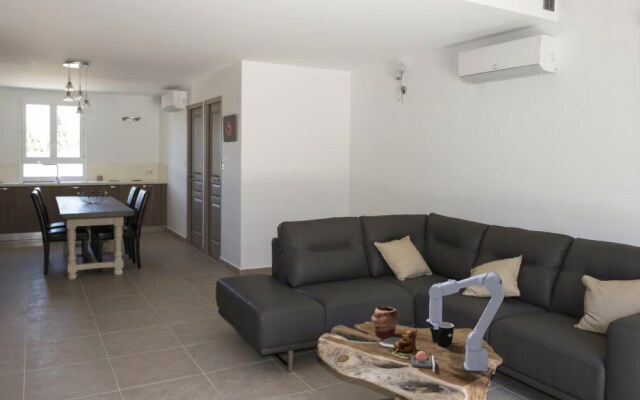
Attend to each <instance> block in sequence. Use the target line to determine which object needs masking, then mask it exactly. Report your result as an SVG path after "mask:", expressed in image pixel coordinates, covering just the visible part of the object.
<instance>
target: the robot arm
mask: <svg viewBox="0 0 640 400" xmlns="http://www.w3.org/2000/svg"><path fill="white" fill-rule="evenodd" d="M473 286H479V287H481V288H483V287H484V288H485V289H486V290H487V291H488V292H489V294H490V297H491V298H490V300H489V302H488V303H487V305H486V307H485V309H484V311H483V313H482V315H481V316H480V318H479V320H478V322H477V324H476V325H475V327H474V328H473V330H471V331H470V332H469V333H468V336H467V339H466V340H465V341H466V342H465V359H464V362H463V367H464V369H465V371H471V372H488V361H489V359H488V355H489V354H488V349H487V348H483V346H482V343H483V342H482V341H483V339H484V336H485V334H486V332H487V330H488V327H489V326H490V325H491V322H492V321H493V319H494V317H495V315H496V313H497V312H498V310H499V308H500V306H501V304H502V302H503V301H504V297H505V294H504V288H503V279H501V276H500V275H499V273H497V272H495V271H491V272H484V273H481V274H477V275H474V276H470V277H468V278H465V279H461V280H459V281H458V280H456V279H452V278H451V279H448V280H447V281H445V282H438V283H434V284H433V285H432V286H430V288H429V291H428V295H429V305H428V306H429V308H428V312H429V313H428V315H429V316H428V318H427V319H426V322H427V323H428V324H429V330H430V331H429V332H430V333H431V337H432V343H433V344H437V343H438V341H439V336H440V333H441V332H442V328H439V326H440V324H441V323H442V322H443V297H444V296H449V295H452V294H456V293H459V292H460V289H465V288H468V287H473Z"/></svg>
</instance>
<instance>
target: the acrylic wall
mask: <svg viewBox="0 0 640 400" xmlns="http://www.w3.org/2000/svg"><path fill="white" fill-rule="evenodd" d="M431 364H432V366H431V368H432V372H433V373H436V372H435V369H436V365H435V358H434V355H433V354H432V355H431Z"/></svg>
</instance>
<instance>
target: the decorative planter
mask: <svg viewBox="0 0 640 400" xmlns="http://www.w3.org/2000/svg"><path fill="white" fill-rule="evenodd" d="M399 317H400V311H399V310H398V309H395V308H393V307H390V306H378V307H376V308H375V309H374V313H373V314H372V316H371V322H372V324H373V325H374V334H375V335H376V336H378V337H380V338H391V337H394V335H395V333H396V328H397V325H398V322H399Z"/></svg>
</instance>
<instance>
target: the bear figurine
mask: <svg viewBox="0 0 640 400" xmlns="http://www.w3.org/2000/svg"><path fill="white" fill-rule="evenodd" d="M417 333H418V330H417V329H415V330H413V329H411V330H407V331H406V332H405V334H401V339H399V340H398V341H396V342H394V343H393V344H392V346H393V347H392V346H391V347H390V348H388V349H387V351H388V353H390V352H392V353H391V355H392V356H395V357H398V358H401V359H410V360H412V356H416V354H417V353H418V352H419V351H422V349H421V348H419V347H418V346H417V345H416V344H417V342H416V340H417V339H416V338H417V336H418V334H417Z"/></svg>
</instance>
